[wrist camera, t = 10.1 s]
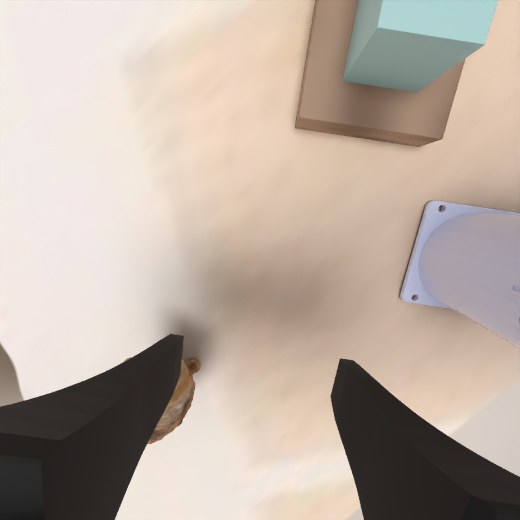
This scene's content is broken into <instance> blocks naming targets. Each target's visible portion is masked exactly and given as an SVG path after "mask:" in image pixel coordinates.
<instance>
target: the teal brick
mask: <svg viewBox="0 0 520 520" xmlns="http://www.w3.org/2000/svg"><path fill="white" fill-rule="evenodd" d="M497 2H498V0H359V1H358V6H357V11H356V16H355V21H354V26H353V31H352V36H351V41H350V46H349V52H348V57H347V62H346V67H345V72H344V77H343V81H347V82H353V83H359V84H366V85H372V86H378V87H385V88H391V89H397V90H404V91H410V92H416V93H417V92H418V91H420V90H421V89H422V88H424V87H425V86H427V85H428V84H429V83H431V82H432V81H434V80H435V79H437V78H438V77H439V76H441V75H442V74H444V73H445V72H446V71H448V70H449V69H451V68H452V67H454V66H455V65H456V64H458V63H459V62H461V61H462V60H463V59H465V58H466V57H468V56H469V55H471V54H472V53H473V52H475V51H476V50H478V49H479V48H480V47H482V46H483V45H485V42H486V39H487V35H488V32H489V29H490V25H491V22H492V19H493V15H494V12H495V9H496V5H497Z"/></svg>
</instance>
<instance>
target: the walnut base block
mask: <svg viewBox="0 0 520 520" xmlns="http://www.w3.org/2000/svg"><path fill="white" fill-rule="evenodd" d="M358 1H359V0H316V1H315V7H314V13H313V19H312V26H311V32H310V38H309V44H308V50H307V56H306V63H305V69H304V75H303V81H302V87H301V94H300V100H299V106H298V112H297V118H296V124H295V128H299V129H306V130H313V131H319V132H326V133H332V134H339V135H346V136H352V137H359V138H365V139H372V140H379V141H385V142H392V143H398V144H405V145H412V146H418V147H420V146H423V145H426V144H429V143H432V142H435V141H438V140H441V139H442V138H443V135H444V131H445V128H446V124H447V121H448V117H449V114H450V110H451V107H452V103H453V100H454V96H455V93H456V90H457V86H458V83H459V79H460V76H461V72H462V69H463V65H464V62H465V59H463V60H462V61H461V62H459V63H458V64H456V65H455V66H454V67H452V68H451V69H449V70H448V71H446V72H445V73H444V74H442V75H441V76H439V77H438V78H437V79H435V80H434V81H432V82H431V83H429V84H428V85H427V86H425V87H424V88H422V89H421V90H420V91H418V92H417V93H416V92H410V91H404V90H397V89H391V88H385V87H378V86H372V85H366V84H359V83H353V82H347V81H343V77H344V72H345V67H346V62H347V57H348V52H349V46H350V41H351V36H352V31H353V26H354V21H355V16H356V11H357V6H358Z"/></svg>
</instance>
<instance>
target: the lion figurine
mask: <svg viewBox="0 0 520 520" xmlns="http://www.w3.org/2000/svg"><path fill="white" fill-rule="evenodd" d="M129 359H130V358H128V359H126V360H125V361H127V360H129ZM125 361H124V362H125ZM199 370H200V363H199V361H198V360H196V359H191V360H190V361H189V362H188V363H187V364H185V363H184V361H183V359H182V362H181V374H180V377H179V380H178V383H177V385H176V388H175V391H174V393H173V396H172V398H171V400H170V402H169V403H168V405H167V407H166V409H165V411H164V413H163V415H162V417H161V419H160V420H159V422H158V424H157V426H156V428H155V430H154V432H153V434H152V436H151V437H150V439H149V441H148V443H147V444H152V443H154V442H156V441H158V440H161V439H162V438H163V437H164V436H165V435H167V434H169V433H170V432H172V431H173V430H174V429H175V428H176V427H177V426H179V425H180V424H181V423H182V421H183V418H184V417H185V415H186V413H187V411H188V409H189V408H190V407H191V402H192V400H193V395H194V390H195V382H194V381H193V377H192V374H193V373H195V372H198V371H199Z"/></svg>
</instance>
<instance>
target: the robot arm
mask: <svg viewBox="0 0 520 520" xmlns="http://www.w3.org/2000/svg"><path fill="white" fill-rule="evenodd" d="M439 206H442V210H441V211H440V212H439V210H438V208H439ZM413 295H416V296H415V298H413V299H412V296H413ZM400 297H401V299H402V300H403V301H404V302H408V303H415V304H422V305H428V306H435V307H442V308H449V309H454V310H456V311H458V312H459V313H461V314H463V315H464V316H466V317H468V318H469V319H471V320H473V321H474V322H476V323H478V324H480V325H481V326H483V327H485V328H486V329H488V330H490V331H491V332H493V333H495V334H496V335H498V336H500V337H501V338H503V339H505V340H507V341H508V342H510V343H512V344H513V345H515V346H517V347H518V348H520V213H517V212H510V211H503V210H497V209H490V208H483V207H477V206H470V205H463V204H457V203H450V202H443V201H430V202H428V203H427V205H426V207H425V211H424V214H423V217H422V221H421V224H420V228H419V231H418V235H417V238H416V242H415V245H414V249H413V252H412V256H411V259H410V262H409V266H408V269H407V273H406V276H405V280H404V283H403V287H402V290H401V294H400ZM183 338H184V336H180V335H173V334H170V335H168V336H166V337H165V338H163V339H162V340H160V341H158V342H157V343H155V344H154V345H152V346H151V347H149V348H147V349H146V350H144V351H142V352H141V353H139V354H138V355H136V356H134V357H132V358H130V359H129V360H127V361H125V362H123V363H121V364H119V365H118V366H116V367H114V368H112V369H110V370H108V371H106V372H103V373H101V374H99V375H97V376H94V377H92V378H90V379H87V380H85V381H82V382H80V383H77V384H74V385H72V386H69V387H66V388H64V389H61V390H58V391H55V392H52V393H49V394H46V395H43V396H39V397H36V398H32V399H29V400H25V401H22V402H18V403H14V404H11V405H6V406H2V407H0V520H115V517H116V515H117V512H118V510H119V508H120V505H121V503H122V500H123V498H124V495H125V493H126V490H127V488H128V486H129V483H130V481H131V478H132V476H133V474H134V471H135V469H136V467H137V464H138V462H139V460H140V457H141V455H142V453H143V451H144V449H145V447H146V445H147V443H148V441H149V439H150V437H151V436H152V434H153V432H154V430H155V428H156V426H157V424H158V422H159V420H160V419H161V417H162V415H163V413H164V411H165V409H166V407H167V405H168V403H169V402H170V400H171V398H172V396H173V393H174V391H175V388H176V385H177V383H178V380H179V377H180V374H181V362H182V350H183ZM331 401H332V407H333V412H334V417H335V421H336V424H337V427H338V430H339V434H340V437H341V440H342V443H343V446H344V449H345V452H346V455H347V458H348V461H349V464H350V467H351V470H352V474H353V477H354V480H355V484H356V487H357V491H358V496H359V500H360V504H361V509H362V513H363V517H364V520H520V477H519V476H517V475H515V474H513V473H511V472H509V471H507V470H505V469H503V468H502V467H500V466H498V465H496V464H494V463H492V462H490V461H489V460H487V459H485V458H483V457H481V456H480V455H478V454H476V453H475V452H473V451H471V450H469V449H468V448H466V447H464V446H463V445H461V444H460V443H458V442H456V441H455V440H453V439H452V438H450V437H449V436H447V435H446V434H444V433H443V432H441V431H439V430H438V429H437V428H435V427H434V426H432V425H431V424H430V423H428V422H427V421H425V420H424V419H422V418H421V417H420V416H418V415H417V414H416V413H414V412H413V411H412V410H411V409H409V408H408V407H407V406H406V405H404V404H403V403H402V402H401V401H399V400H398V399H397V398H396V397H395V396H393V395H392V394H391V393H390V392H389V391H388V390H386V389H385V388H384V387H383V386H382V385H381V384H380V383H379V382H377V381H376V380H375V379H374V378H373V377H372V376H371V375H370V374H369V373H367V372H366V371H365V370H364V369H363V368H362V367H361V366H360V365H358V364H357V363H356V362H355V361H353V360H347V359H340V361H339V365H338V369H337V373H336V377H335V381H334V385H333V389H332V393H331Z"/></svg>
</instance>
